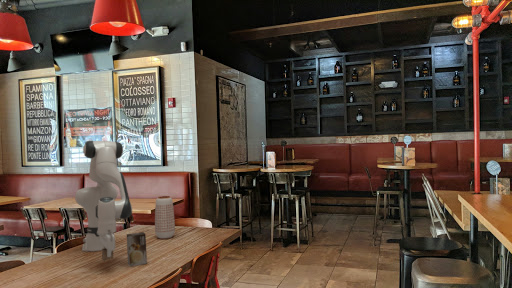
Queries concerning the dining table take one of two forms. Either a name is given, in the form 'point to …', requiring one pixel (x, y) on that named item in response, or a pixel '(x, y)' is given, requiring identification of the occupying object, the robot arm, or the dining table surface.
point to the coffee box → (136, 249)
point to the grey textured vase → (164, 217)
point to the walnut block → (104, 254)
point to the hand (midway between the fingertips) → (107, 255)
